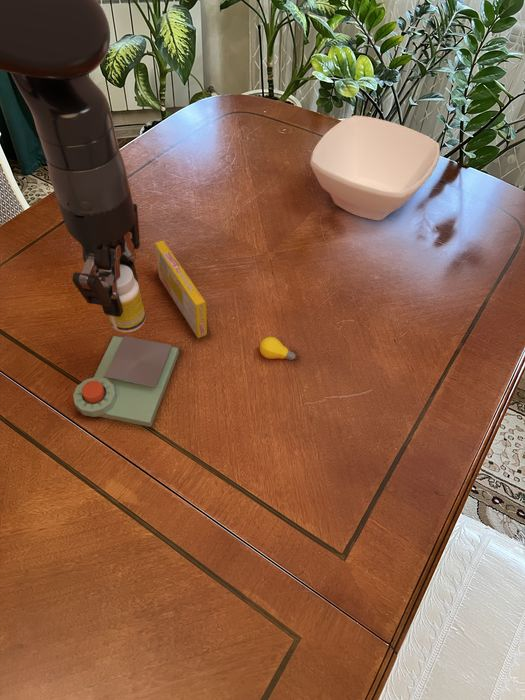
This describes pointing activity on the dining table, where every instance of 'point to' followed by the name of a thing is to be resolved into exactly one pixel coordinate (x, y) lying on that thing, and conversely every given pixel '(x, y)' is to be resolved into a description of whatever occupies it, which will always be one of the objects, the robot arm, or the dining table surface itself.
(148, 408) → the scale
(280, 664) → the dining table surface
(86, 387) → the power button
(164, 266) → the candy box
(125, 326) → the supplement bottle
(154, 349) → the scale pan
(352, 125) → the bowl
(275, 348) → the light bulb
